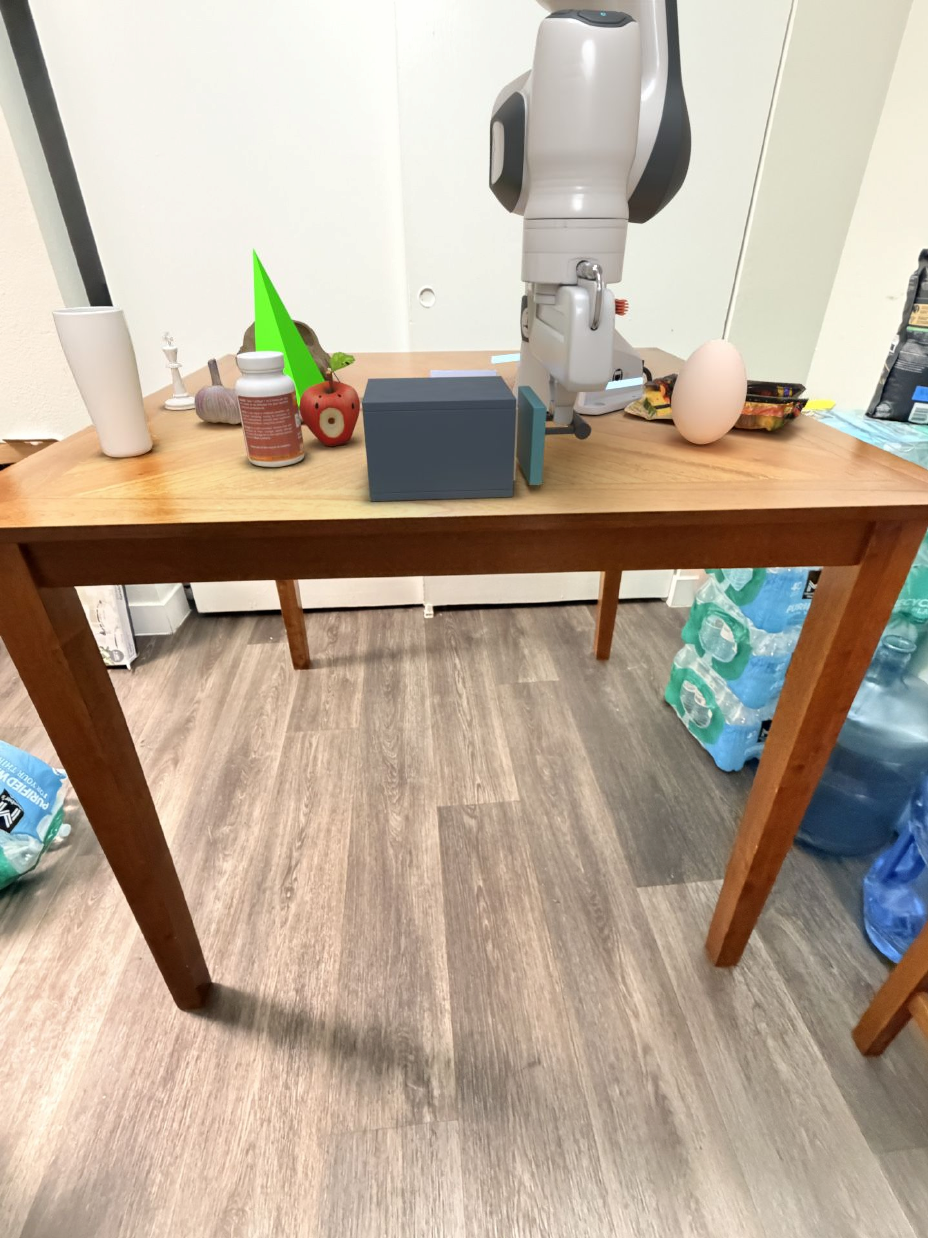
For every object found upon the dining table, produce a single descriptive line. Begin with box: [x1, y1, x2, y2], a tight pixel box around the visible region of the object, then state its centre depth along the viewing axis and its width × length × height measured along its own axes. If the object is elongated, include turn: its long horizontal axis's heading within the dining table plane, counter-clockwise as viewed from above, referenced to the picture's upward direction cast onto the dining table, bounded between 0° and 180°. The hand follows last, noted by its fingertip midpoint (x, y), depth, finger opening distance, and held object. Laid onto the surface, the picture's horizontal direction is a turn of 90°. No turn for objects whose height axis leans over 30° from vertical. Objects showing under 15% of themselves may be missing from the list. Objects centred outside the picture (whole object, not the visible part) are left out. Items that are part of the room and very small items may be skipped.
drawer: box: [513, 386, 592, 486], centre depth 62 cm, size 17×9×7 cm, turn 94°
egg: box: [671, 338, 748, 445], centre depth 71 cm, size 8×8×11 cm
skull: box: [234, 319, 332, 381], centre depth 101 cm, size 17×18×14 cm
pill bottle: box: [234, 351, 306, 468], centre depth 67 cm, size 6×6×11 cm
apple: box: [299, 351, 361, 447], centre depth 73 cm, size 8×7×10 cm
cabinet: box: [361, 375, 517, 502], centre depth 62 cm, size 14×11×9 cm
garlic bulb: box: [194, 357, 241, 425], centre depth 81 cm, size 8×7×8 cm
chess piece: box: [161, 331, 195, 411], centre depth 90 cm, size 5×5×10 cm
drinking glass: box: [51, 305, 153, 458], centre depth 69 cm, size 7×7×15 cm
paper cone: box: [252, 247, 325, 423], centre depth 85 cm, size 11×5×25 cm
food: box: [624, 373, 810, 432], centre depth 84 cm, size 22×19×4 cm
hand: (559, 421), depth 62 cm, fingers closed
